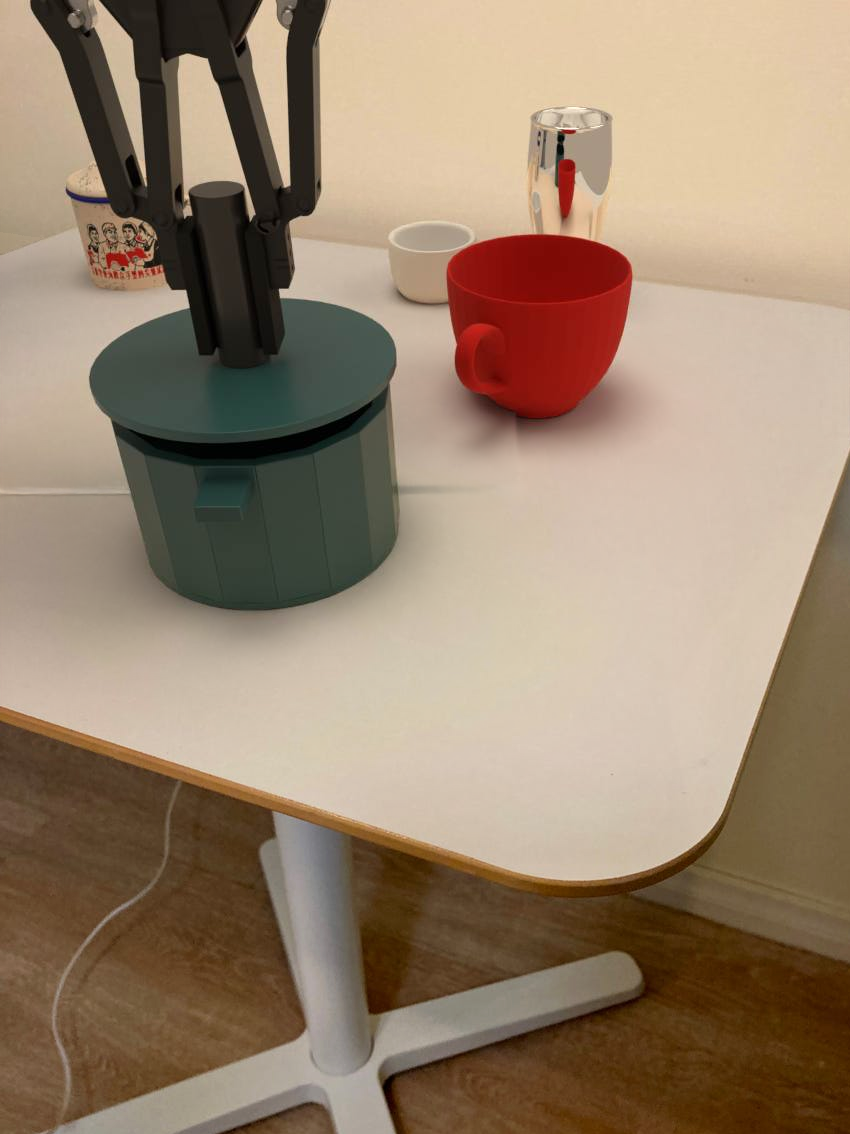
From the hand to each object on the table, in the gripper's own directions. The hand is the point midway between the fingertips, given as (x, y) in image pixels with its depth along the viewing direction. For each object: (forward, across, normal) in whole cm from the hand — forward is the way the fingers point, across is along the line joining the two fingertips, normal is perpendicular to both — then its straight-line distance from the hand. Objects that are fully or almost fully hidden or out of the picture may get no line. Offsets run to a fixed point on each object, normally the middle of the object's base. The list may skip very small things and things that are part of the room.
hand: (242, 343), depth 57 cm
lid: (+1, 0, 0) cm, 1 cm away
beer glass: (+13, +20, +36) cm, 43 cm away
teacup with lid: (+13, -18, +42) cm, 47 cm away
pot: (+13, 0, 0) cm, 13 cm away
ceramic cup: (+13, +16, +16) cm, 26 cm away
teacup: (+13, +8, +38) cm, 41 cm away
